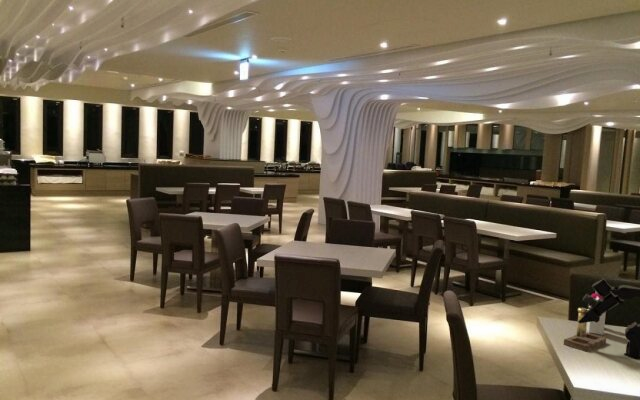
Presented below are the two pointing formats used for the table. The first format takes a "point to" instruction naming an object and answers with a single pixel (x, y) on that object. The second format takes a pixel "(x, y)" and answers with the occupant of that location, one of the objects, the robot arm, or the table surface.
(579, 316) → the brass bolt
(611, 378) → the table surface
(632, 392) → the table surface
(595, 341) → the template plate
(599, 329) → the milk carton
